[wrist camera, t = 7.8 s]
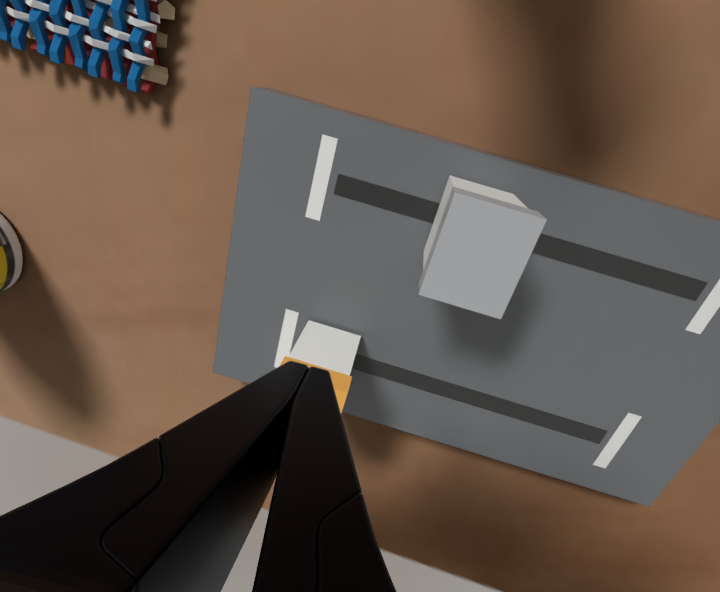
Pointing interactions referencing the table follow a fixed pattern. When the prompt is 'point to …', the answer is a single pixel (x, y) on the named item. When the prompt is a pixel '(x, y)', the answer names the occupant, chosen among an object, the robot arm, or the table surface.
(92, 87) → the table surface
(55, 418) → the table surface
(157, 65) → the woven mat
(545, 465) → the console
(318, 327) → the orange fader
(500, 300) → the grey fader
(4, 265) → the supplement bottle
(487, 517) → the table surface
